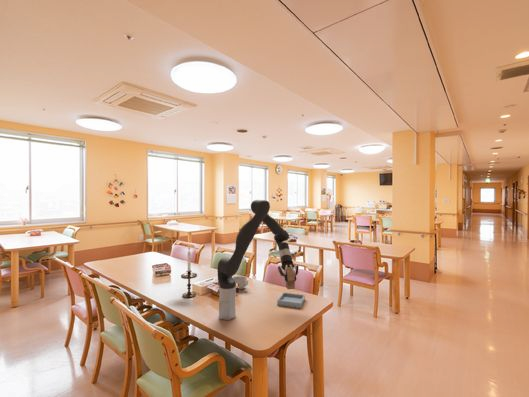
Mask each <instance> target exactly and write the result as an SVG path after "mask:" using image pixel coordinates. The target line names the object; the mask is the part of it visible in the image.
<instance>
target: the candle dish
mask: <svg viewBox="0 0 529 397" xmlns="http://www.w3.org/2000/svg"><path fill="white" fill-rule="evenodd" d="M276 301H277V303H276V304H277V306H282V307H290V308H295V307H296V308H297V309H301V308H302V307H303V304H304V302H305V301H306V295H305V294H300V293H292V292H285V291H284V292H282V294H281V295H280V296H279V297H278V298H277V300H276Z"/></svg>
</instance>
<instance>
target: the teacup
mask: <svg viewBox="0 0 529 397" xmlns="http://www.w3.org/2000/svg"><path fill="white" fill-rule="evenodd" d="M232 278H233V279H234V280H235V282H236V283H238V284H239V289H238V290H243V289H244V288H245V287H246V286H248V285H249V280H248V278H247V277H246V276H244V275H243V276H241V275H239V276H238V275H237V276H232Z"/></svg>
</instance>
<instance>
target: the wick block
mask: <svg viewBox="0 0 529 397" xmlns="http://www.w3.org/2000/svg"><path fill="white" fill-rule="evenodd" d="M293 269H294V268H293ZM293 269H292V267H289V268H288V269H287V270H286V275H287V279H288V282H286V281H285V288H286V289H287V290H295V289H296V288H295V287H296V285H295V284H296V281H295V273H296V270H293Z"/></svg>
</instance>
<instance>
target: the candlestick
mask: <svg viewBox="0 0 529 397" xmlns="http://www.w3.org/2000/svg"><path fill="white" fill-rule="evenodd" d="M187 248H188V251H187V270H186V272H185V273H182V274H181V275H180V278H181V279H184V280H187V284H186V286H187V291H186V292H184V293H183V294H182V296H181V297H182V298H184V299H192V298H195V297H196V292H194V291H191V288H192V287H191V286H192V283H191V279H195V278H197V277H198V274H197V272H192V271H193V270H191V261H192V260H191V250H190V246H188V247H187Z"/></svg>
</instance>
